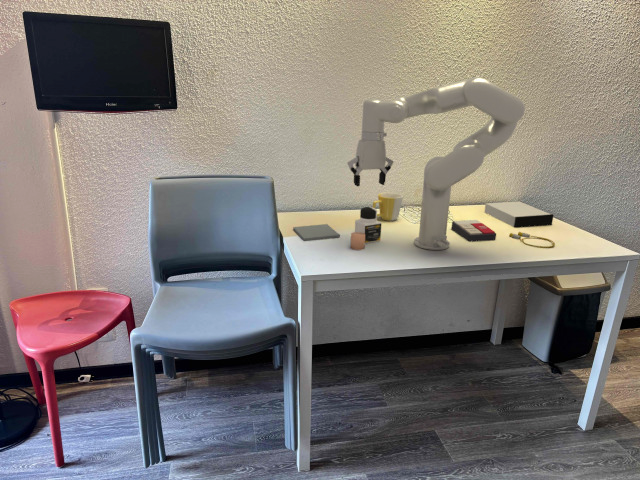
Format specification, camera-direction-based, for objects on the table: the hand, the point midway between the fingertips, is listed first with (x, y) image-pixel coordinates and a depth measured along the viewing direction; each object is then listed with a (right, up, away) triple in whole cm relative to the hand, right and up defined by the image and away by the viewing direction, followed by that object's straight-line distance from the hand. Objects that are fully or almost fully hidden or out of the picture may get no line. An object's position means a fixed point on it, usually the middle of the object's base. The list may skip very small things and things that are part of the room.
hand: (369, 184), depth 176 cm
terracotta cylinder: (-4, -22, -2) cm, 23 cm away
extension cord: (+62, -21, +8) cm, 66 cm away
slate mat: (-19, -17, +12) cm, 29 cm away
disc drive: (+67, -11, +36) cm, 77 cm away
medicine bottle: (0, -20, +7) cm, 21 cm away
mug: (+10, -11, +31) cm, 35 cm away
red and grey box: (+41, -18, +14) cm, 47 cm away
